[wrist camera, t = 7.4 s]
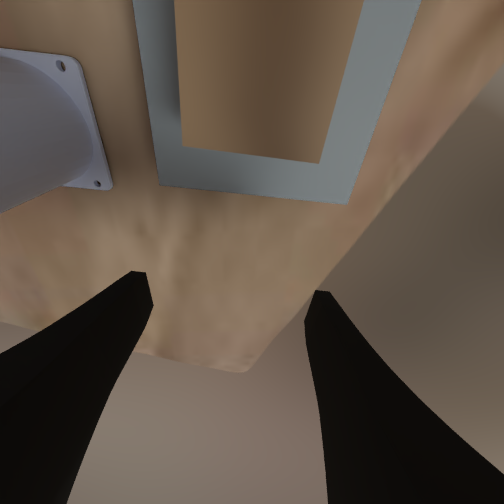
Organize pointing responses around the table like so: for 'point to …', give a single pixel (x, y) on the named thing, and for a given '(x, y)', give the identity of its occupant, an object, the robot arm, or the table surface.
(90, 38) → the table surface
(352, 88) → the base block
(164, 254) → the table surface
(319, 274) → the table surface
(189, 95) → the walnut cube
